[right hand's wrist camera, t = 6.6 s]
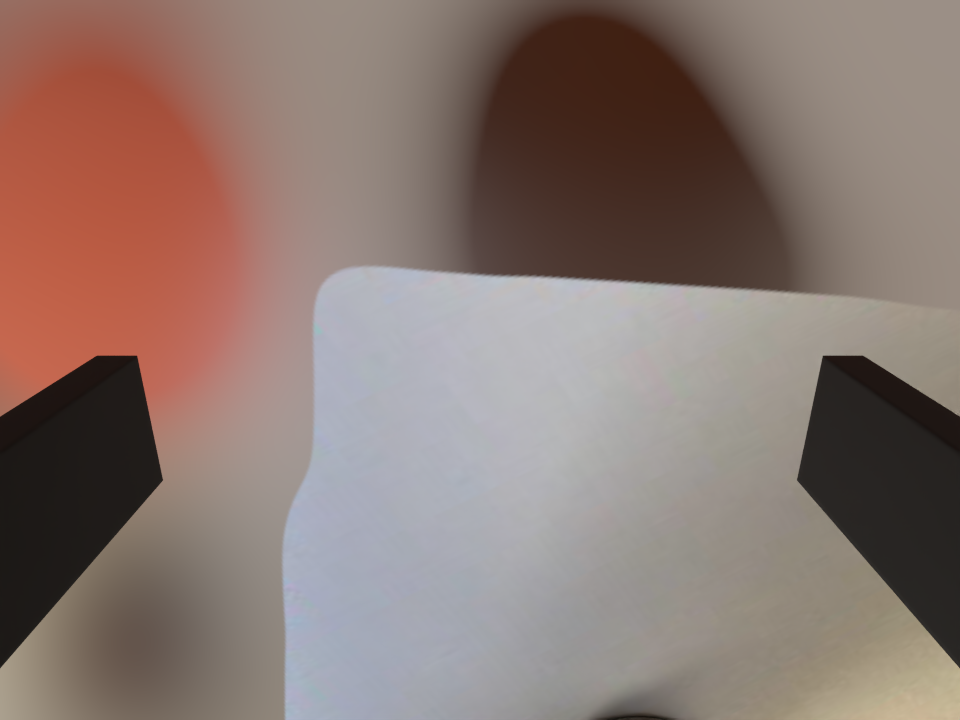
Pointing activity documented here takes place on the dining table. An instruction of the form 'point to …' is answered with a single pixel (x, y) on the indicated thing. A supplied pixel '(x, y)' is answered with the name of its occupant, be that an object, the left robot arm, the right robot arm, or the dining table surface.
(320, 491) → the dining table surface
